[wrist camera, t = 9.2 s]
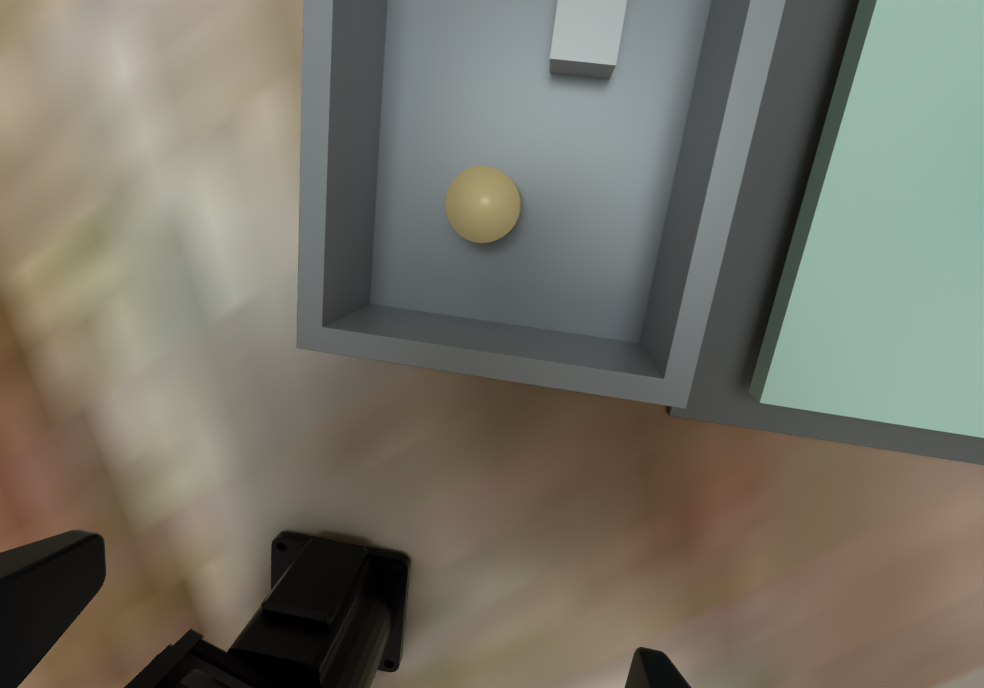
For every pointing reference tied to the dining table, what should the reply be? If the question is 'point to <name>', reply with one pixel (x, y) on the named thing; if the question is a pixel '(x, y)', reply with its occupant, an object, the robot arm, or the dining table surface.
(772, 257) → the mat
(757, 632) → the dining table surface
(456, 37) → the tub
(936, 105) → the lid
